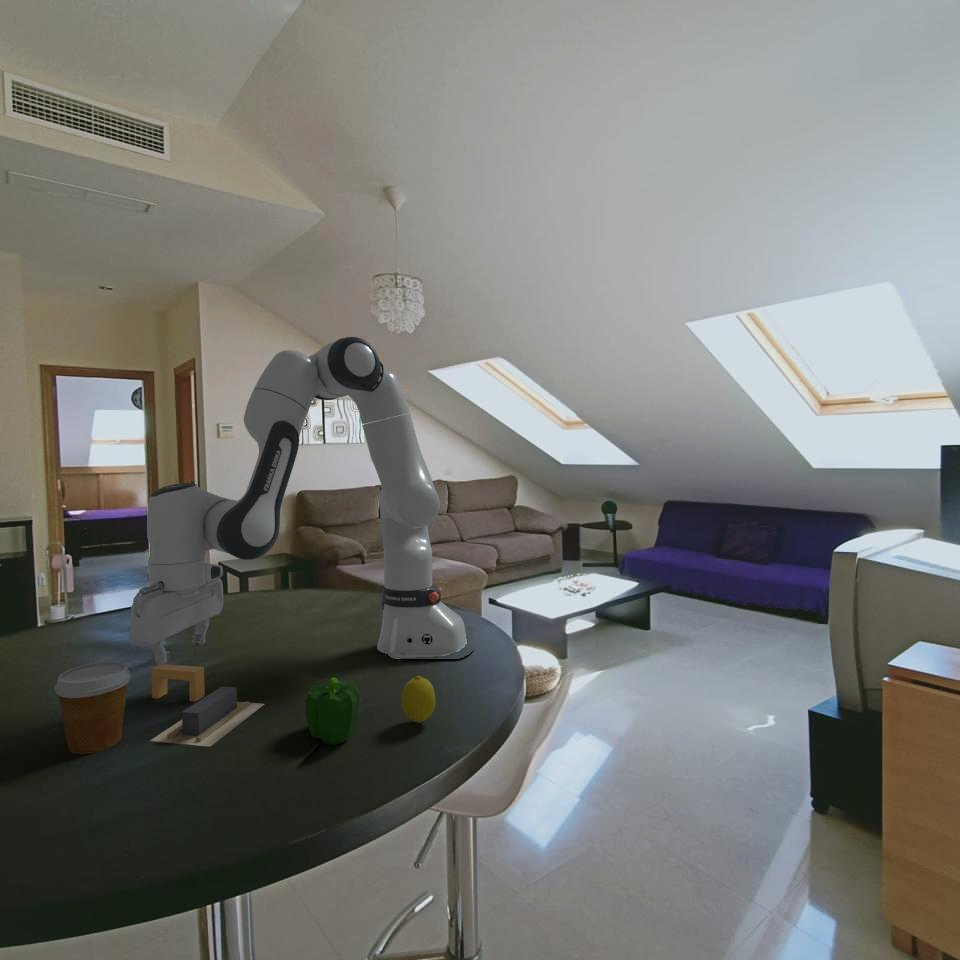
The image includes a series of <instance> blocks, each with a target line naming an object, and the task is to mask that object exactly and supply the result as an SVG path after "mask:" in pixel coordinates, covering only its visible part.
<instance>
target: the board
mask: <svg viewBox="0 0 960 960" xmlns="http://www.w3.org/2000/svg"><path fill="white" fill-rule="evenodd" d="M263 706H265V703H255V702H251V701H237V708H236V709H235V710H233V711H232V712H230V713H229V714H228V715H226V716H225V717H224V718H222V719H221V720H219V721H218V722H217V723H215V724H214V725H213V726H211V727H210V728H208V729H207V730H206V731H204V732H203V733H202V734H200V735H199V736H189V735H182V719H181V720H179V721H177V722H176V723H174V724H173V725H171V726H170V727H168V728H167V729H165V730H163V731H162V732H161V733H159V734H158V735H156V736H155V737H153V738H152V739H149V742H155V743H166V744H167V743H168V744H178V745H188V746H199V747H208V748H210V747H212V746H213V745H215V744H216V743H217V742H218V741H220V740H221V739H222V738H223V737H225V736H226V735H228V734H229V733H230V732H231V731H232V730H234V729H235V728H236V727H237V726H239V725H240V724H241V723H242V722H244V721H245V720H246V719H247V718H249V717H250V716H252V715H253V714H254V713H255V712H257V711H258V710H259V709H260V708H262V707H263Z"/></svg>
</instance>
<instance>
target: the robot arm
mask: <svg viewBox="0 0 960 960" xmlns="http://www.w3.org/2000/svg"><path fill="white" fill-rule="evenodd" d="M347 396H349V398H351V400H352V402H354V404H355V406H356V407H357V410H358V413H359V419H360V422H361V426H362V430H363V433H364V437H365V441H366V443H367V448H368V451H369V455H370V456H369V457H370V459H371V462H372V464H373V466H374V468H375V471H376V474H377V476H378V479H379V482H380V485H381V490H380V492H379V498H378V500H379V515H380V517H379V518H380V527H381V528H380V530H381V539H382V547H383V585H382V587H381V589H382V591H381V609H382V622H381V628H380V629H381V630H380V634H379V639H378V641H377V642H378V643H377V645H376V649H377V650H378V652H381V653H383V654H384V653H385V654H384V655H387V654H388V655H387V656H390V657H391V658H394V659H400V658H401V659H402V658H416V657H433V656H446V655H449V654H451V653H454V652H458V651H460V650H461V649H462V648H464V647H465V645H466V644H467V639H466V636H467V632H466V631H467V630H466V626H465V622H464V620H463V618H462V617H461V615H459V614H458V613H456V612H455V611H454V610H452V609H451V608H449V606H447V605H446V604H445V603H443V602H442V601H441V600H442V589H443V588H442V587H437V586H436V585H435V584H433V549H432V546H431V540H430V536H429V534H430V533H429V527H428V526H429V525H430V524H431V523H433V522H434V521H435V520H436V518H437V517H438V515H439V513H440V509H441V500H440V496H439V494H438V492H437V490H436V488H435V485H434V482H433V479H432V476H431V474H430V471H429V469H428V466H427V463H426V461H425V458H424V456H423V453H422V451H421V448H420V445H419V441H418V437H417V435H416V430H415V426H414V421H413V419H412V415H411V413H410V408H409V404H408V401H407V398H406V395H405V393H404V390H403V388H402V386H401V383H400V381H399V379H398V377H397V375H395V373H393V372H392V371H391V370H388V369H385V368H384V364H383V363H382V361H381V360H380V357H379V355H378V354H377V351H376V350H375V348H374V347H373V346H372V344H370V343H369V342H368V341H367V340H365V339H364V338H361V337H357V336H346V337H341V338H339V339H337V340H336V341H333V342H330V343H328V344H326V345H324V346H323V347H321V348H320V349H319V350H317V351H316V352H314V354H311V355H310V356H308V355H307V354H305V353H302V352H301V351H297V350H291V349H285V350H281V351H278V352H277V353H276V354H275V355H274V356H273V358H272V359H271V360H270V362H268V364H267V365H266V367H265V368H264V370H263V371H262V373H261V375H260V377H259V379H258V380H257V381H256V384H255V386H254V388H253V390H252V392H251V394H250V396H249V398H248V401H247V404H246V406H245V411H244V415H243V416H244V417H243V423H244V427H245V429H246V431H247V433H248V434H249V435H250V437H251V438H252V439H253V440H254V441H255V442H256V443H257V446H258V456H257V458H256V459H257V460H256V462H255V466H254V468H253V471H252V474H251V477H250V480H249V483H248V486H247V489H246V491H245V492H244V494H243V495H242V496H241V498H240V499H238V500H236V499H230V498H226V497H223V496H219V495H217V494H213V493H211V492H209V491H207V490H205V489H204V488H202V487H200V486H199V485H198V484H196V483H193V482H182V483H175V484H170V485H167V486H163V487H160V488H158V489H155V490H154V491H153V492H152V493H151V495H150V497H149V499H148V503H147V512H146V517H147V519H146V531H147V537H146V538H147V540H148V542H149V546H150V554H149V557H148V573H149V574H148V575H149V577H148V578H149V586H143V587H142V588H139V590H138V592H137V593H136V594H135V596H134V597H133V599H132V604H131V608H130V615H129V616H130V617H129V631H128V632H129V634H128V635H129V638H128V639H129V640H130V642H131V643H132V644H133V645H135V646H148V648H149V649H150V650H151V651H152V653H153V655H154V662H155V664H156V666H158V665H164V664H168V663H169V662H171V651H167V650H166V648H165V646H164V645H166V644H167V643H166V641H167V638H169V637H172V636H173V635H175V634H178V633H180V632H182V631H184V630H186V629H189V628H191V627H193V626H195V629H194V634H193V635H191V645H192V646H193V647H200V646H202V645H204V644H205V643H206V634H207V631H208V628H209V625H210V618H213V617H215V616H217V615H219V614H220V613H221V612H222V609H223V607H224V587H223V586H224V585H223V581H222V579H221V577H223V574H224V569H223V566H222V565H220V564H216V563H209V562H206V552H208V551H211V550H216V551H218V552H223V553H226V554H228V555H230V556H233V557H235V558H237V559H239V560H240V559H241V560H244V561H245V560H247V561H250V560H254V559H255V560H256V559H258V558H261V557H262V556H264V555H266V554H267V553H268V552H269V551H271V550H272V548H273V547H274V546H275V544H276V542H277V540H278V537H279V534H280V529H281V528H280V526H281V508H282V505H283V504H282V503H283V500H284V497H285V493H286V490H287V487H288V483H289V480H290V479H291V475H292V471H293V469H294V464H295V461H296V459H297V455H298V452H299V446H300V435H301V432H302V428H303V425H304V423H305V421H306V419H307V416H308V413H309V411H310V408H311V405H312V402H313V401H314V400H315V399H318V400H323V401H331V400H332V401H333V400H336V399H339V398H343V397H347ZM390 657H389V658H390ZM391 658H390V659H391Z"/></svg>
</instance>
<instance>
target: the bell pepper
mask: <svg viewBox="0 0 960 960" xmlns="http://www.w3.org/2000/svg"><path fill="white" fill-rule="evenodd" d="M328 681H329V682H328V684H326V685H321V684H313V685H310V688H309V690H308V693H306V697H305V699H304V713H305V718H306V722H307V727H308V730H309V733H310V736H311V737H312V738H316V739H319V740H318V743H319V742H320V743H321V742H322V743H323V744H325V745H329V744H330V745H329V746H332V745H331V744H334V745H337V744H336V743H340V742H343V741H345V740H346V741H348V739H349V738H350V737H351V735H352V733H353V731H354V729H355V724H356V721H357V716H358V713H359V708H360V691H359V689H358V686H357V685H356V683H347V682H344V681H342V680H339V679H337V678H336V677H331V678H330V679H329V680H328ZM346 741H345V742H346ZM343 743H344V742H343ZM340 744H341V743H340Z"/></svg>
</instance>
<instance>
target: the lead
mask: <svg viewBox="0 0 960 960" xmlns="http://www.w3.org/2000/svg"><path fill="white" fill-rule="evenodd" d="M237 702H238V688H237V687H231V686H220V687H219V688H217V689H215V690H214V691H212V692H211V693H209V694H207V695H206V696H204V697H202V698H201V699H199V700H198V701H196V702H195V703H194V704H192V705H190V706H189V707H187V708H186V709H184V710H183V711H182V712H181V720H182V735H189V736H199V735H200V734H202V733H203V732H204V731H206V730H207V729H208V728H210V727H211V726H213V725H214V724H215V723H217V722H218V721H219V720H221V719H222V718H224V717H225V716H226V715H228V714H229V713H230V712H232V711H233V710H235V709H236V708H237Z"/></svg>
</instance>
